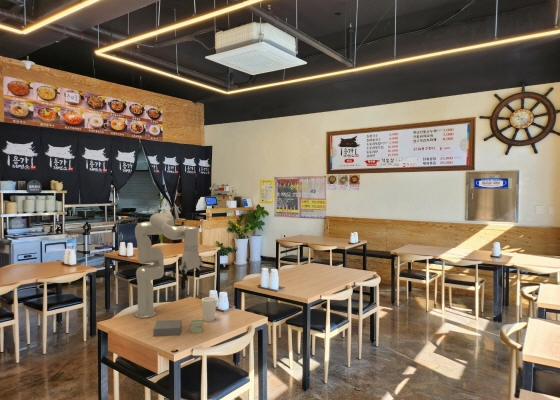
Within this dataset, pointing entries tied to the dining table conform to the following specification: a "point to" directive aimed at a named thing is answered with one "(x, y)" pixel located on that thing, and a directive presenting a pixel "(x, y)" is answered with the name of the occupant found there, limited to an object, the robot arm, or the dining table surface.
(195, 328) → the cube
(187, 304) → the dining table surface
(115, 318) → the dining table surface
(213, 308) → the foam cup
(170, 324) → the block
